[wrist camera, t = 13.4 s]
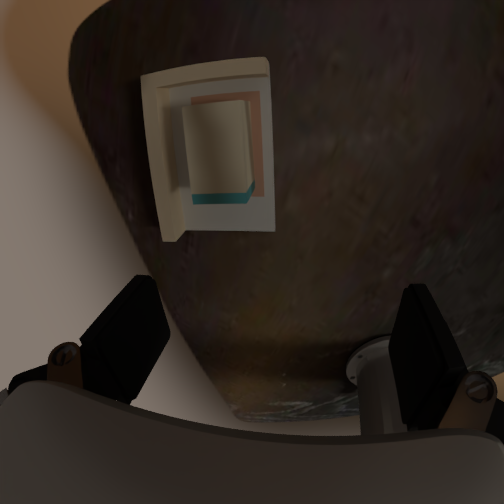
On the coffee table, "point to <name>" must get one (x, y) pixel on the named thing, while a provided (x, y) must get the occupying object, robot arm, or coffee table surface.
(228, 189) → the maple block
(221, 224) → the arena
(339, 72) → the coffee table surface
